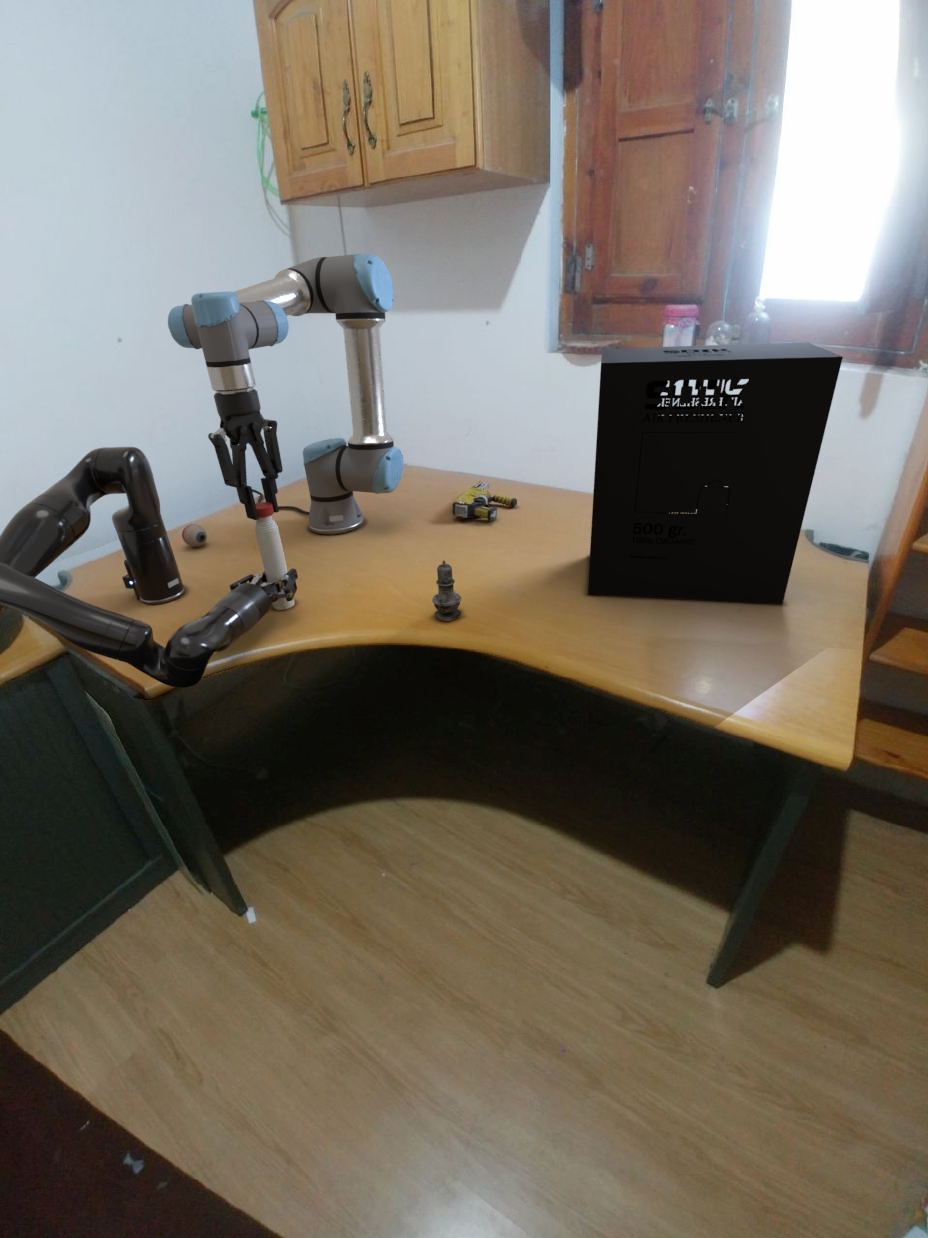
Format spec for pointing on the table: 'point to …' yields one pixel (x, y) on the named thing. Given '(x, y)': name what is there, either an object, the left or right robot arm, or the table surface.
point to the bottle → (272, 555)
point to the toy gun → (479, 503)
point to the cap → (264, 509)
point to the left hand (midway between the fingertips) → (284, 571)
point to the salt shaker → (446, 595)
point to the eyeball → (194, 535)
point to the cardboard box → (705, 469)
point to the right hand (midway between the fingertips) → (263, 514)
